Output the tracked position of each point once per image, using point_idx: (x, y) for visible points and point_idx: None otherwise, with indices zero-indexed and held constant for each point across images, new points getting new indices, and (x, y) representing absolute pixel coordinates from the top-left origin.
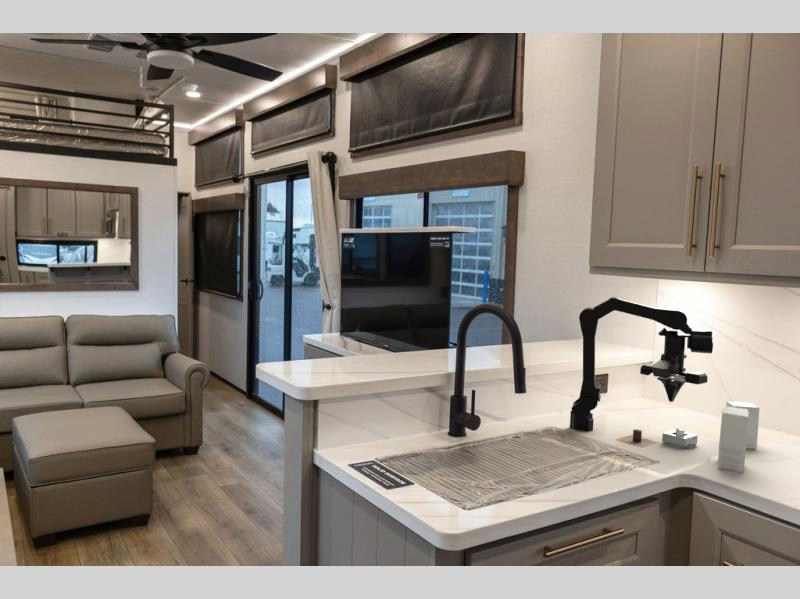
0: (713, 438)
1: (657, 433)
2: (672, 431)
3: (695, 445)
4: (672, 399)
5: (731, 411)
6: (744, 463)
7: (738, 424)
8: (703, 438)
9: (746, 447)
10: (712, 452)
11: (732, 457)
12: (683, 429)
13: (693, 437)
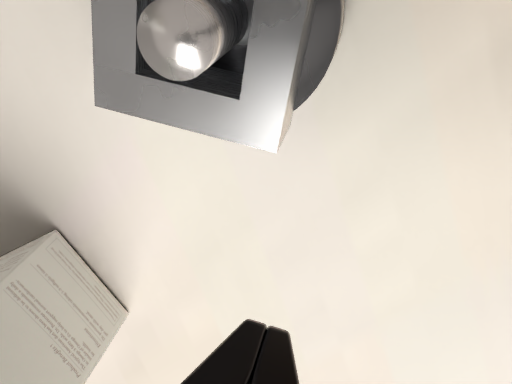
0: (173, 319)
1: (449, 253)
2: (269, 69)
3: None
4: (222, 346)
5: None
6: None
7: None
8: (205, 296)
9: (11, 251)
10: (55, 62)
11: None
12: (155, 62)
13: (97, 39)
